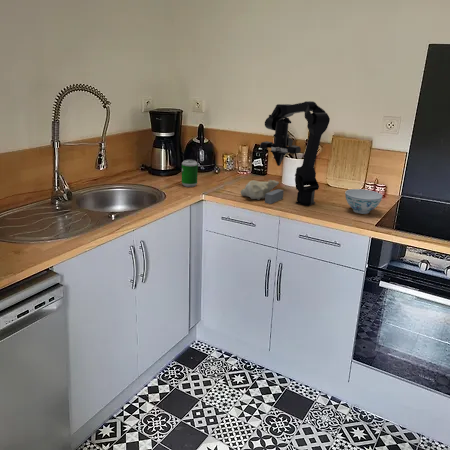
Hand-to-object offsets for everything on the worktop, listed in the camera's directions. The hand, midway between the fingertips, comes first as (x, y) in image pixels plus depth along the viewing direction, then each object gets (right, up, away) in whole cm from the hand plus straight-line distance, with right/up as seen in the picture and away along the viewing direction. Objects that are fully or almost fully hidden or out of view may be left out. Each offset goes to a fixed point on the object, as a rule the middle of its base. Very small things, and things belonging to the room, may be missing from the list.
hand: (278, 165), depth 216 cm
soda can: (-43, -9, +6) cm, 44 cm away
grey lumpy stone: (-10, -16, -8) cm, 20 cm away
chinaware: (+32, -22, -22) cm, 45 cm away
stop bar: (-4, -17, -12) cm, 21 cm away
